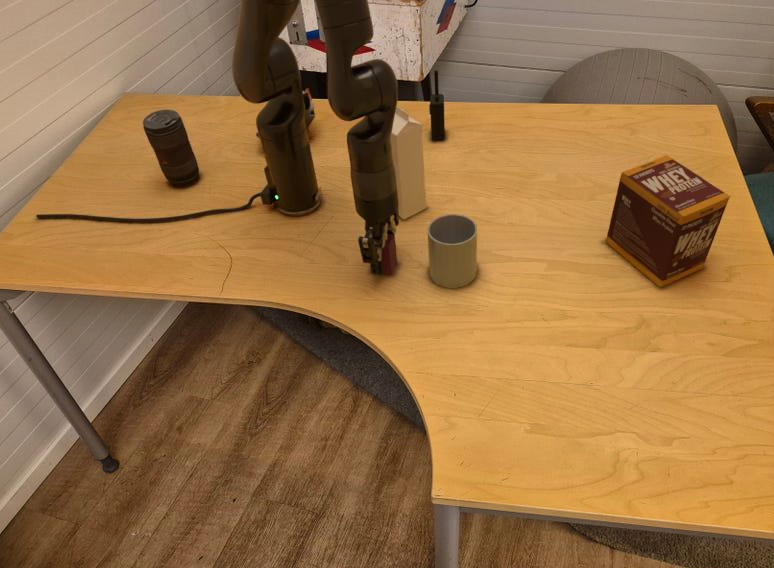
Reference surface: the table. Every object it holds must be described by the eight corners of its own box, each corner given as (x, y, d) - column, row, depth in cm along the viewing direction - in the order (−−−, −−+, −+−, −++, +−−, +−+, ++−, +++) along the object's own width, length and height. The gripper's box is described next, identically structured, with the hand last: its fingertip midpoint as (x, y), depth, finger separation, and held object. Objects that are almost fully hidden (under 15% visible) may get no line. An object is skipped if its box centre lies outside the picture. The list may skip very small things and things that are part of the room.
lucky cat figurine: (263, 126, 157) (277, 69, 150) (309, 144, 159) (325, 89, 152) (248, 140, 145) (263, 80, 138) (299, 160, 147) (315, 101, 140)
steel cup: (423, 283, 116) (421, 240, 109) (437, 253, 122) (435, 210, 114) (469, 291, 114) (469, 248, 107) (481, 261, 119) (482, 218, 112)
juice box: (371, 271, 119) (365, 233, 113) (377, 260, 121) (372, 222, 115) (392, 274, 118) (387, 236, 112) (397, 264, 120) (393, 225, 113)
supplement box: (660, 289, 112) (683, 216, 100) (604, 242, 121) (619, 170, 109) (704, 268, 115) (732, 196, 103) (647, 224, 124) (666, 153, 112)
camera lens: (159, 186, 142) (133, 125, 131) (180, 167, 147) (157, 106, 136) (188, 193, 140) (164, 130, 129) (209, 173, 145) (187, 111, 134)
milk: (403, 220, 129) (394, 119, 112) (386, 207, 132) (375, 107, 116) (427, 208, 131) (421, 108, 115) (409, 195, 135) (401, 96, 118)
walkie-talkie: (444, 140, 148) (443, 77, 137) (430, 141, 148) (427, 78, 137) (444, 130, 151) (443, 67, 140) (430, 130, 152) (427, 68, 140)
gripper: (369, 159, 111) (378, 235, 124) (337, 207, 103) (351, 283, 115) (409, 165, 110) (414, 241, 122) (380, 213, 101) (389, 290, 113)
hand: (384, 261), depth 119 cm, fingers open, 6 cm apart
